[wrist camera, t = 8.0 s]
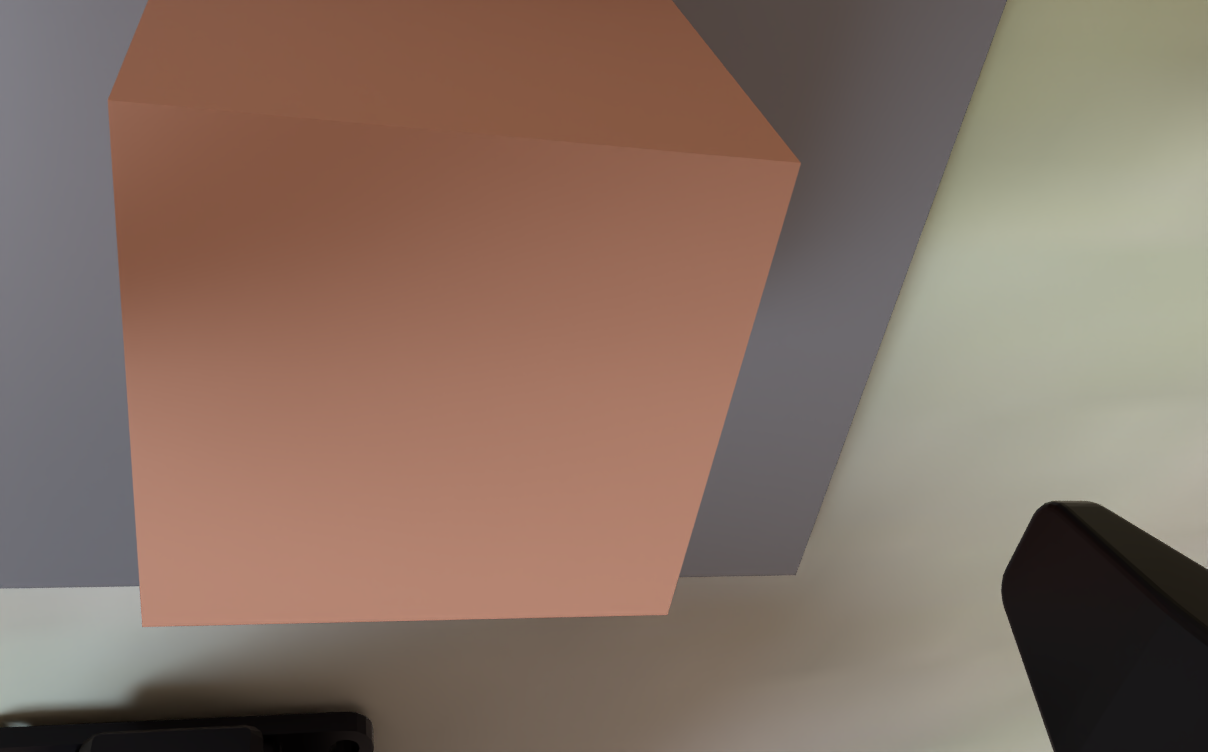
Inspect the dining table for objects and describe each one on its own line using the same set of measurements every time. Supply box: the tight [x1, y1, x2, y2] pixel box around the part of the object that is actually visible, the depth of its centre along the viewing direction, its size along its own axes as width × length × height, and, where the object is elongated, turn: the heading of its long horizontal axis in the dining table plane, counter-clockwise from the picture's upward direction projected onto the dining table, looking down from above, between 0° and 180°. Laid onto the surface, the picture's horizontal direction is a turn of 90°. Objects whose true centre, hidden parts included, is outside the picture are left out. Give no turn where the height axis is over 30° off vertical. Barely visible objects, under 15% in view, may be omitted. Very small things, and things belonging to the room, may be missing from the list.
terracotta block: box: [108, 0, 801, 627], centre depth 11 cm, size 5×5×5 cm
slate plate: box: [0, 0, 1007, 588], centre depth 14 cm, size 14×14×1 cm
